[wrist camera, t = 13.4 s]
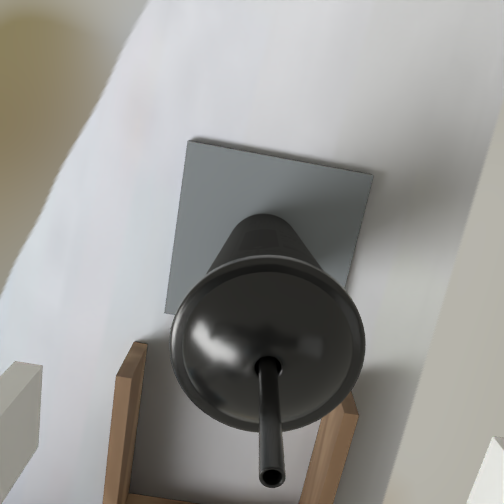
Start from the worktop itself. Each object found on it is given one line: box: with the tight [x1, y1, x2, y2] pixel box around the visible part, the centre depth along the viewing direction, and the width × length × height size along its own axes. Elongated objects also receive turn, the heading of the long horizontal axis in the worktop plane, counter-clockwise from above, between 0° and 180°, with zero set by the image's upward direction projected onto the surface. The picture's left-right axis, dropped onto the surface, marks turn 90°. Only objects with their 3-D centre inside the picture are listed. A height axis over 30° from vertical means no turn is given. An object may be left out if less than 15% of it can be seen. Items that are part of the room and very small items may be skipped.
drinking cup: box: [169, 214, 365, 488], centre depth 21 cm, size 8×8×20 cm
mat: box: [164, 141, 373, 315], centre depth 31 cm, size 12×12×1 cm
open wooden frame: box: [103, 342, 359, 504], centre depth 34 cm, size 16×15×4 cm
